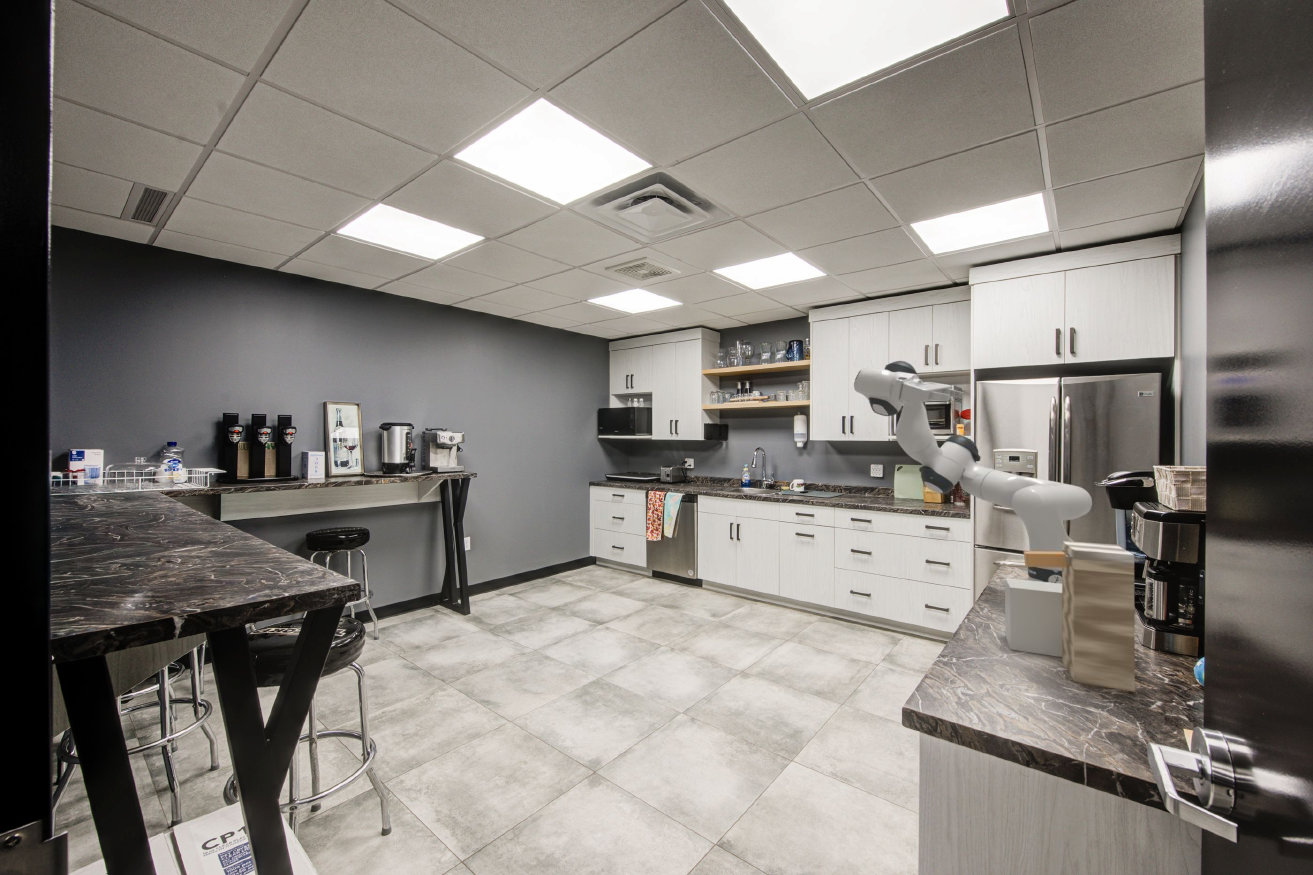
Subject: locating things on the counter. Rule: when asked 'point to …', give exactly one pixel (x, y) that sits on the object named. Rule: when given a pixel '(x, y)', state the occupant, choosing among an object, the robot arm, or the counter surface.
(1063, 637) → the socket tower
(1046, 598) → the pedestal
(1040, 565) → the plug
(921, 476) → the robot arm
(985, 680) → the counter surface
